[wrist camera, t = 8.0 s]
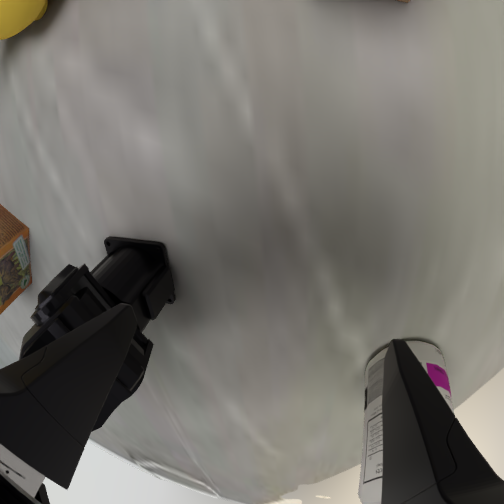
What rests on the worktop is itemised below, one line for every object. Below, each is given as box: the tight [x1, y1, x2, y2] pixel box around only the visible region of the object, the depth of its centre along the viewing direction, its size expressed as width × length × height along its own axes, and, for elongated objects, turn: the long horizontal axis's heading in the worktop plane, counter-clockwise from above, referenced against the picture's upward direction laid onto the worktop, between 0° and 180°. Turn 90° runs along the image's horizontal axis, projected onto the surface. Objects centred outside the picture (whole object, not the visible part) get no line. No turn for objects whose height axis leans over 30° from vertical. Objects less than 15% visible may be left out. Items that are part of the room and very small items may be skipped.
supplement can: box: [358, 341, 454, 504], centre depth 20 cm, size 8×8×15 cm
